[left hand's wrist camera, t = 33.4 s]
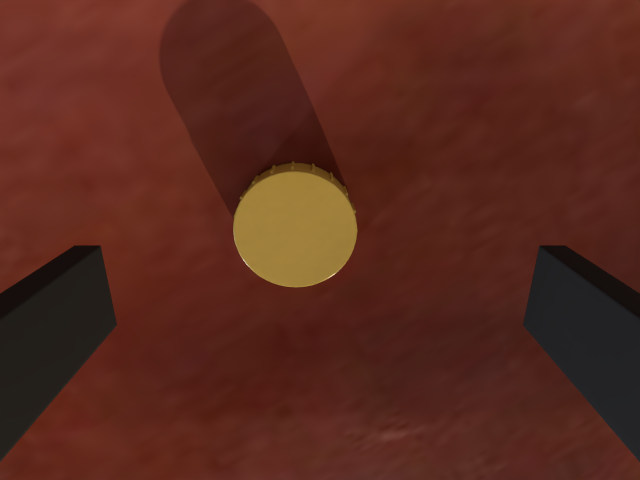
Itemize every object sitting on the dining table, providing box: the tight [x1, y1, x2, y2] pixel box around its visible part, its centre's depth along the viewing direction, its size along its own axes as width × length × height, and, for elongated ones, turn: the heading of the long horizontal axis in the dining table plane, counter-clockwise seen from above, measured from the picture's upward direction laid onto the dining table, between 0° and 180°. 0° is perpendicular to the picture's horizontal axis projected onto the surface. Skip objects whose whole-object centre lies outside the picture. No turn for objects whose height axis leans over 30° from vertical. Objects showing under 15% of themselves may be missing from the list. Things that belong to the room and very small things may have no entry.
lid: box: [233, 161, 358, 287], centre depth 16 cm, size 5×5×2 cm
